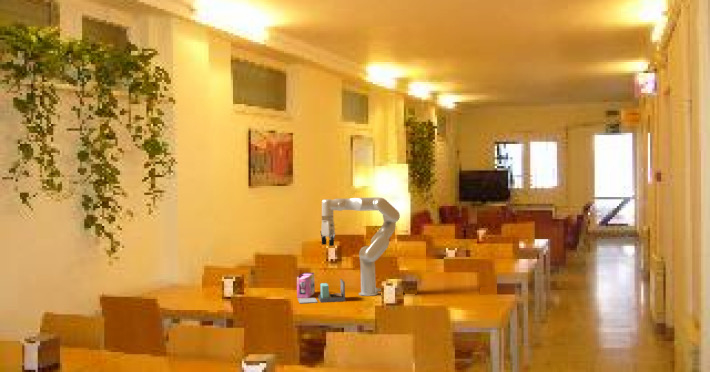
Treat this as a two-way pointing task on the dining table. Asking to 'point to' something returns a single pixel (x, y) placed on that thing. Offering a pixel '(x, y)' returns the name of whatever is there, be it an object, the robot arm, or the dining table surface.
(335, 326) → the dining table surface
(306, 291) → the gum box
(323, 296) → the teal board
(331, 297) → the rack
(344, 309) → the dining table surface
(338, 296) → the offcut stack
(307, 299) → the mat
